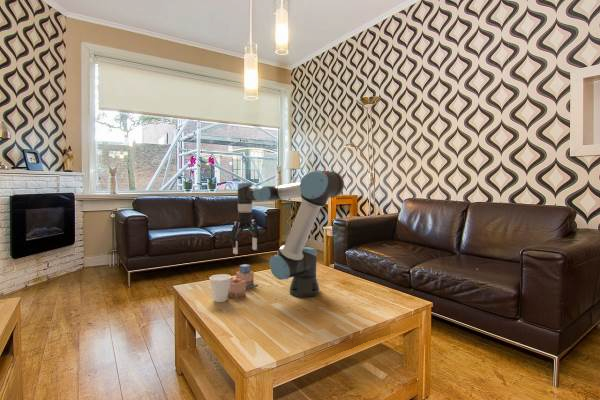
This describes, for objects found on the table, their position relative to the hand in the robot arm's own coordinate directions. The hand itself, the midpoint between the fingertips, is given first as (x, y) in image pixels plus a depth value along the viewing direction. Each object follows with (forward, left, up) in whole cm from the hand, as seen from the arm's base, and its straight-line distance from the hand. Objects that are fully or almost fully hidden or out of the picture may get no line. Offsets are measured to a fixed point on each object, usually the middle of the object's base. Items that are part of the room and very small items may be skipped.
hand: (245, 251), depth 169 cm
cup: (+7, +21, -19) cm, 29 cm away
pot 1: (0, 0, -18) cm, 18 cm away
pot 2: (+2, +14, -19) cm, 23 cm away
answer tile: (0, 0, -19) cm, 19 cm away
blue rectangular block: (0, 0, -15) cm, 15 cm away
